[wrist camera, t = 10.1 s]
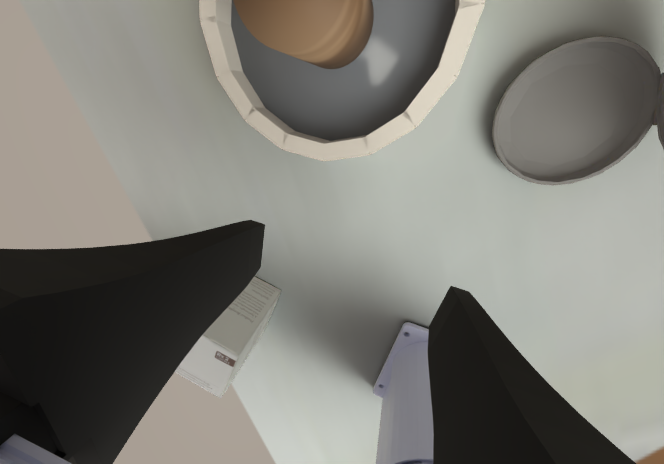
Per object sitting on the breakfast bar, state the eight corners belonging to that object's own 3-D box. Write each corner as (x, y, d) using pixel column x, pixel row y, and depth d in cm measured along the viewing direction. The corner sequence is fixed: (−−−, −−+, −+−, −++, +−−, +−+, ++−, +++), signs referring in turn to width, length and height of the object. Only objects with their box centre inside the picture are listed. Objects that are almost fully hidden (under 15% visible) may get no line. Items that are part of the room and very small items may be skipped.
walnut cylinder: (360, 77, 15) (332, 63, 10) (288, 59, 16) (226, 38, 11) (385, -26, 13) (365, -111, 8) (300, -41, 14) (230, -130, 8)
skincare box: (213, 302, 28) (152, 363, 21) (225, 258, 25) (158, 313, 18) (266, 331, 27) (220, 401, 21) (284, 290, 24) (238, 357, 18)
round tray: (415, 179, 17) (416, 187, 16) (220, 124, 19) (201, 126, 17) (540, -159, 11) (565, -210, 9) (224, -189, 13) (194, -236, 11)
